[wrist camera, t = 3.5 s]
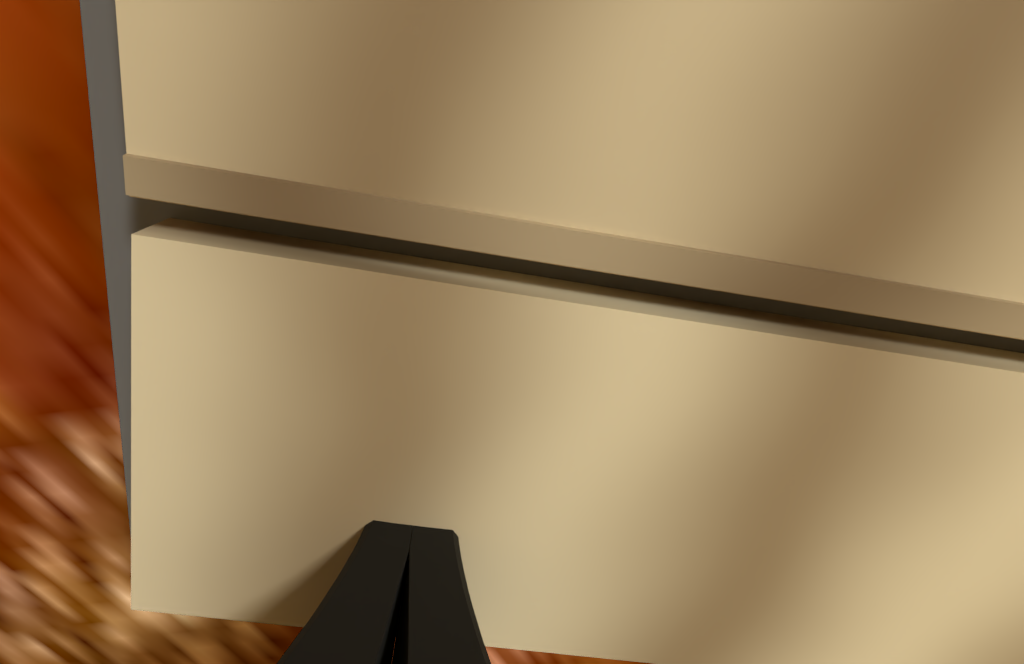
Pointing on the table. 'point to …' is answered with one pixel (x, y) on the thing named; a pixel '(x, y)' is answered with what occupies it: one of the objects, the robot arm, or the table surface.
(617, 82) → the fixed plank
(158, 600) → the board
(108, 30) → the underlay mat
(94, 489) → the table surface
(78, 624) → the table surface
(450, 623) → the robot arm
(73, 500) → the table surface
